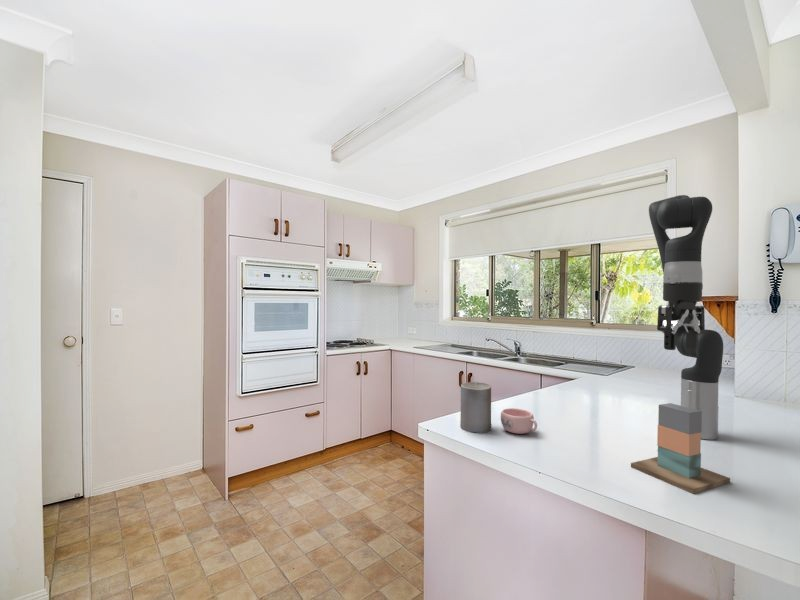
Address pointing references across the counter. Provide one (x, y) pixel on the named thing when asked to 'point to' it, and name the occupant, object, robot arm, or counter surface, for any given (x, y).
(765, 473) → the counter surface
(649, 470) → the plate
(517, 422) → the mug
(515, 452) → the counter surface
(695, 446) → the terracotta brick
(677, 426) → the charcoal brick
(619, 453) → the counter surface
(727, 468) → the counter surface
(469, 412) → the pillar candle
